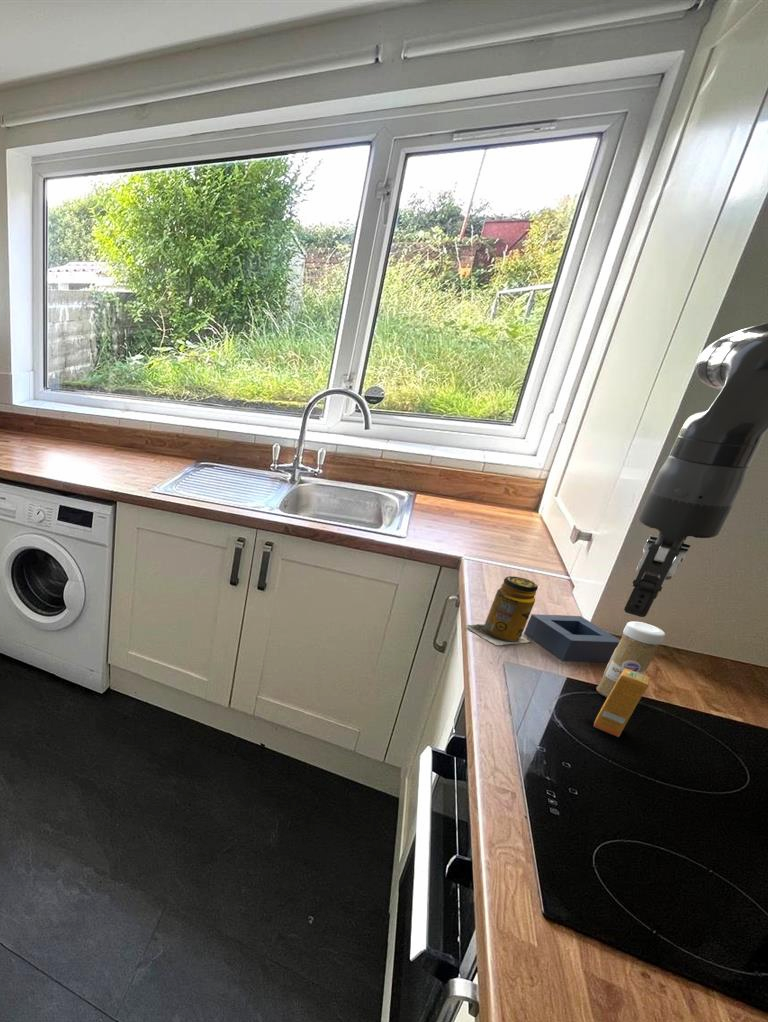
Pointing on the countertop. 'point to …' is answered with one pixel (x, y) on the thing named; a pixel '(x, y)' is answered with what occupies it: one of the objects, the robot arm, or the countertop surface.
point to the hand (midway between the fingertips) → (639, 605)
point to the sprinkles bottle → (631, 653)
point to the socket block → (571, 638)
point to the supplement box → (621, 702)
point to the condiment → (508, 612)
